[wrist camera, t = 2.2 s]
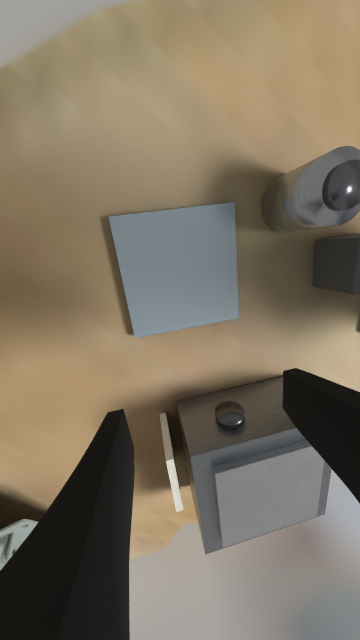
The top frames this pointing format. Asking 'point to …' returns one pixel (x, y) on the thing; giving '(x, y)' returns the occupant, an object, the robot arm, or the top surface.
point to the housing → (249, 464)
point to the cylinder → (315, 193)
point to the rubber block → (338, 264)
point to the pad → (178, 267)
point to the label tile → (171, 462)
